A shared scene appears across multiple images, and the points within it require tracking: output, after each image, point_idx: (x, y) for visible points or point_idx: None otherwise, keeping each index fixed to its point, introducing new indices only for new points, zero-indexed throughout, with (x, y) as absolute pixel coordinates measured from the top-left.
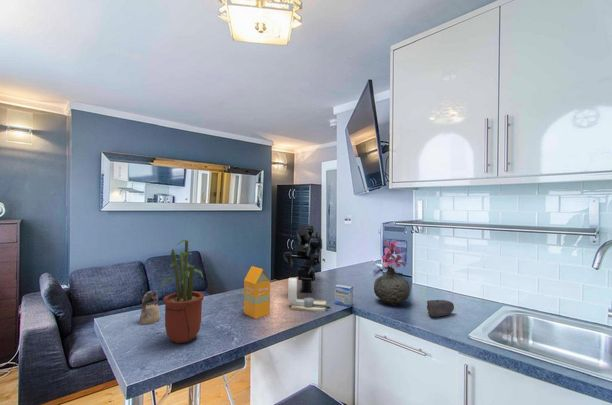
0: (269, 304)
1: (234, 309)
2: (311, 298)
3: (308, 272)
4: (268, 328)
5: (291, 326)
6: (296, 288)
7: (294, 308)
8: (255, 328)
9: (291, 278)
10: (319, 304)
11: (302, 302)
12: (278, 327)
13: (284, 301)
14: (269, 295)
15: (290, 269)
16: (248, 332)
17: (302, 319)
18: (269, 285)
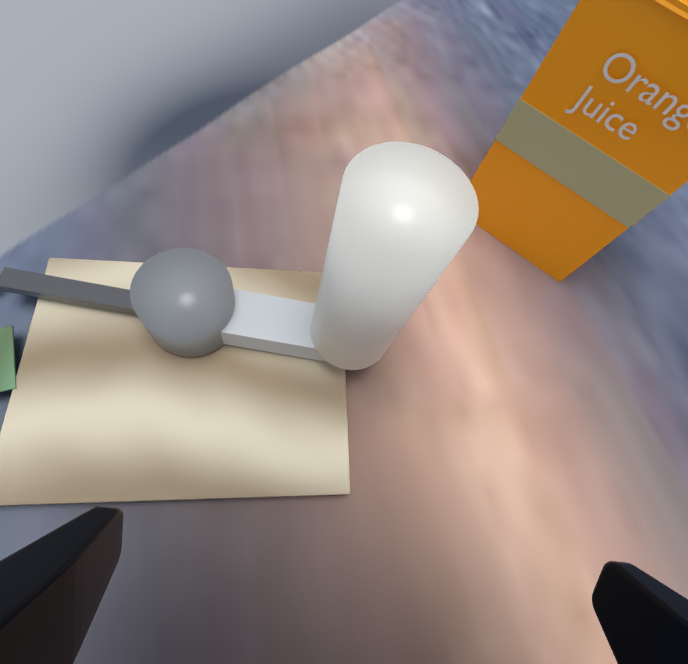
0: (482, 162)
1: (676, 259)
2: (154, 304)
3: (80, 519)
4: (396, 66)
5: (291, 79)
6: (325, 258)
7: (311, 273)
8: (451, 68)
9: (434, 207)
10: (85, 369)
11: (250, 293)
12: (353, 72)
13: (436, 465)
14: (517, 103)
15: (671, 605)
16: (463, 41)
17: (238, 148)
18: (573, 13)
